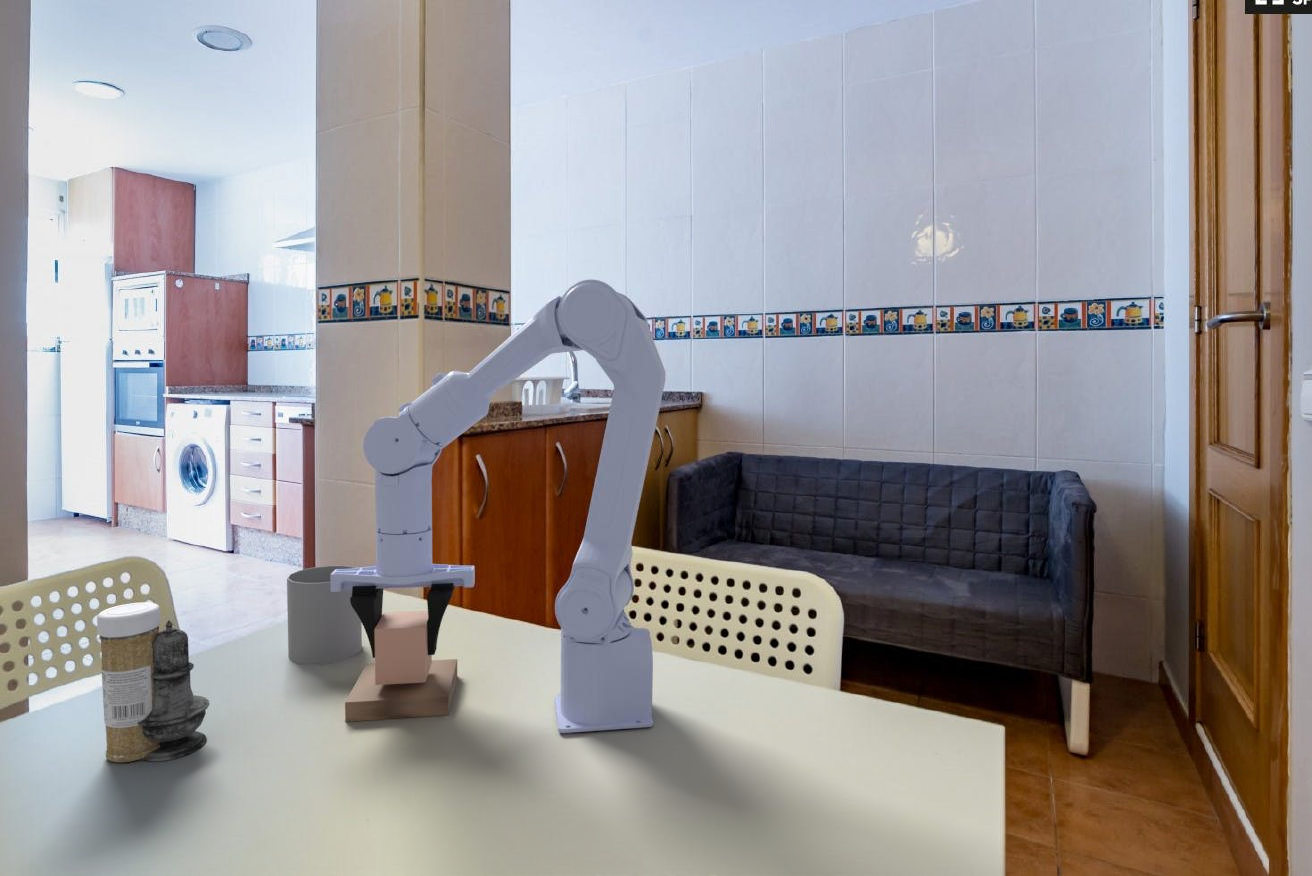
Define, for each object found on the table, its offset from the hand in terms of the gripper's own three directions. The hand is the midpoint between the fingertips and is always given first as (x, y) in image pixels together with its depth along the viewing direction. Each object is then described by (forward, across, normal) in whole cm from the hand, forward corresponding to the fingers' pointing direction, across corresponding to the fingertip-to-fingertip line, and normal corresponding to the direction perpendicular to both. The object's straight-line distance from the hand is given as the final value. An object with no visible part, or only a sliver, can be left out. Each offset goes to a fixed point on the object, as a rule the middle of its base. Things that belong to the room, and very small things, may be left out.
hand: (405, 653), depth 77 cm
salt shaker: (+5, +19, +8) cm, 22 cm away
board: (+5, 0, 0) cm, 5 cm away
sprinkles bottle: (+5, +22, +8) cm, 24 cm away
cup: (+5, +12, -15) cm, 20 cm away
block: (+2, 0, 0) cm, 2 cm away
